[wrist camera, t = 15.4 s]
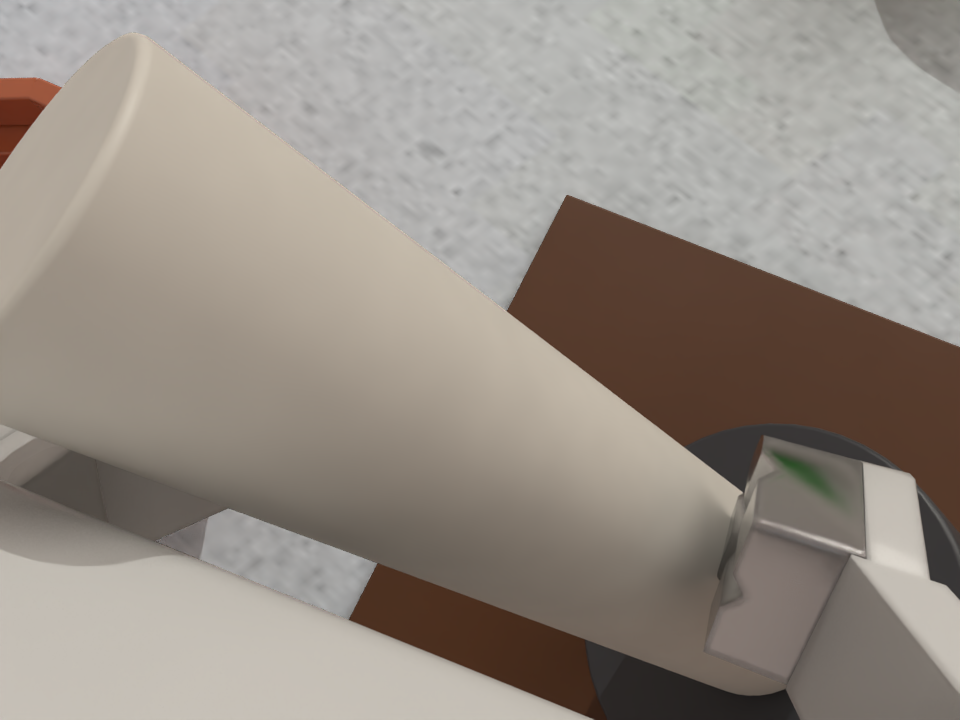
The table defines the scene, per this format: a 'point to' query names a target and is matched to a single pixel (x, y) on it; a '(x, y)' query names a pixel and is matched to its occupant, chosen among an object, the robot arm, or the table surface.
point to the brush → (357, 386)
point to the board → (689, 402)
